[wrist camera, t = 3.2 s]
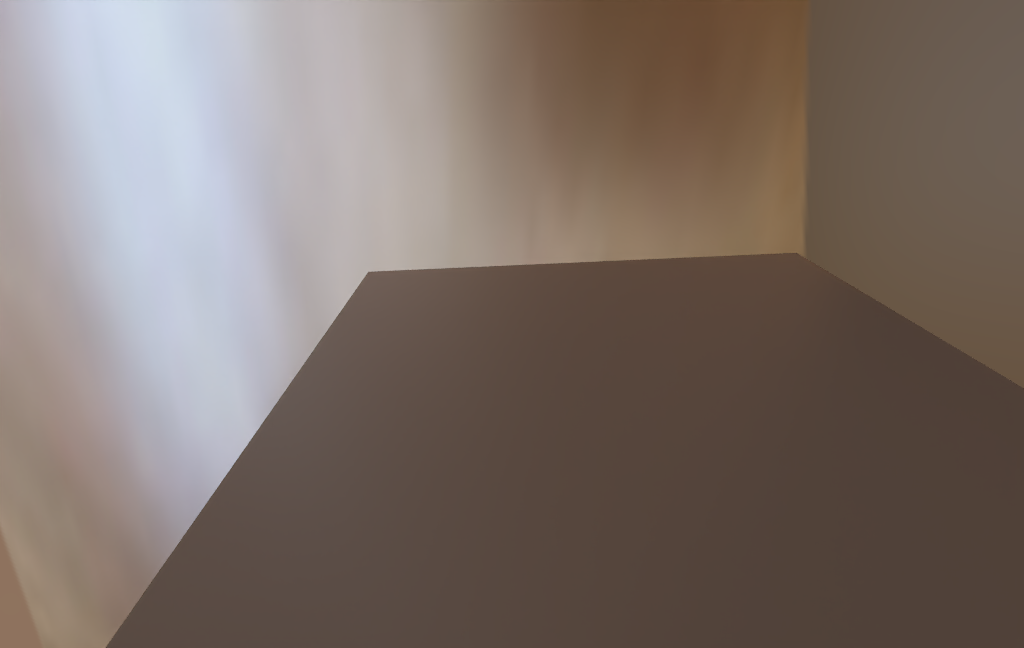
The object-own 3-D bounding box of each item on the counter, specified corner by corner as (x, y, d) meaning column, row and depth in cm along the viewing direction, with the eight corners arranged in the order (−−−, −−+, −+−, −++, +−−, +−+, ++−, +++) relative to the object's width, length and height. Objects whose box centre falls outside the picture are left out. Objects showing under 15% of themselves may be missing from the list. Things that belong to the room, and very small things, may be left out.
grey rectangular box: (734, 555, 13) (1131, 1380, 5) (419, 568, 13) (275, 1407, 5) (796, 252, 9) (2614, 1335, 1) (368, 271, 9) (-446, 1436, 1)
